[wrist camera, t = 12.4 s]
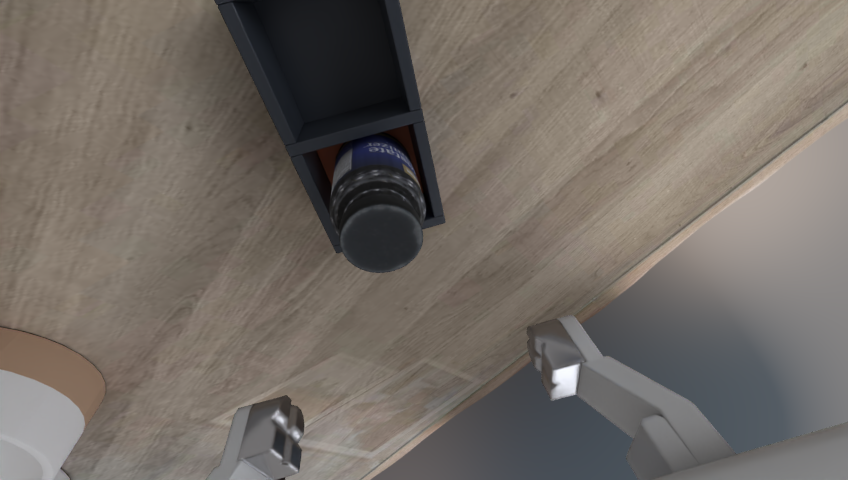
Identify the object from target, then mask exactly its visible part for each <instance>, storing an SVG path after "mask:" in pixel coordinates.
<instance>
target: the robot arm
mask: <svg viewBox="0 0 848 480" xmlns="http://www.w3.org/2000/svg"><path fill="white" fill-rule="evenodd" d="M527 335H528V337H529V340H528V341H527V348H528V352H529V356H530V358H531V361H532V363H533V365H534V367H535V369H536V370H538V371H539V372H541V373H542V383H543V385H544V387H545V389H546V391H547V393H548V395H549V397H550V399H551V401H552V400H556V399H559V398H564V397H568V396H572V395H575V394H577V396H578V397H580V398H581V399H582V400H584V401H585V402H586V403H588V404H589V405H590V406H591V407H593V408H594V409H595V410H597V411H598V412H599V413H600V414H602V415H603V416H605V417H606V418H607V419H608V420H609V421H611V422H612V423H614V424H615V425H616V426H617V427H619V428H620V429H621V430H623V431H624V432H625V433H626V434H628V435H629V436H631V437H632V438H633V441H632V444H631V446H630V448H629V451H628V453H627V457H626V460H627V461H628V463H629V465H630V466H631V468H632V470H633V471H634V473H635V475H636V477H637V478H638V480H848V422H846V423H843V424H839V425H835V426H832V427H829V428H825V429H822V430H818V431H815V432H811V433H808V434H805V435H801V436H798V437H794V438H791V439H787V440H784V441H780V442H777V443H773V444H770V445H767V446H763V447H760V448H756V449H753V450H750V451H746V452H743V453H739V454H736V453H735V452H734V451H733V449H732V448H731V447H730V446H729V445H728V443H727V442H726V441H725V440H724V439H723V438H722V436H721V435H720V434H719V433H718V432H717V431H716V429H715V428H714V427H713V426H712V425H711V423H710V422H709V421H708V420H707V419H706V417H705V416H704V415H703V414H702V413H701V412H700V410H699V409H698V408H697V407H696V406H695V405H694V403H692V402H691V401H689V400H687V399H685V398H683V397H682V396H680V395H678V394H676V393H674V392H673V391H671V390H669V389H667V388H665V387H663V386H662V385H660V384H658V383H656V382H655V381H653V380H651V379H649V378H647V377H645V376H643V375H642V374H640V373H638V372H636V371H635V370H633V369H631V368H629V367H628V366H626V365H624V364H622V363H620V362H618V361H617V360H615V359H613V358H611V357H609V356H605V357H603V355H602V354H601V353H600V351H599V350H598V349H597V347H596V346H595V344H594V343H593V341H592V340H591V339H590V337H589V336H588V334H587V333H586V332H585V330H584V329H583V328H582V326H581V325H580V323H579V322H578V320H577V319H576V318H575V317H574V316H573V315H567V316H564V317H560V318H557V319H552V320H549V321H545V322H542V323H539V324H536V325H532V326H529V327H527ZM303 434H304V419H303V414H302V412H301V410H300V409H299V408H298V406H294V405H291V399H290V398H289V397H288V396H287V395H285V396H282V397H278V398H274V399H271V400H267V401H264V402H260V403H256V404H252V405H248V406H245V407H241V408H238V410H237V411H236V413H235V414H234V417H233V421H232V424H231V428H230V431H229V435H228V438H227V442H226V445H225V448H224V452H223V455H222V459H221V462H220V466H218V467H215V468H214V469H213V470H212V472H211V473H210V474H209V476H208V477H207V478H206V480H278V479H281V478H284V477H287V476H290V475H293V474H297V473H299V468H300V460H301V451H302V449H301V448H300V446H299V445H298V443H299V441H300V439H301V438H302V436H303Z"/></svg>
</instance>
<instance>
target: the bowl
mask: <svg viewBox="0 0 848 480" xmlns="http://www.w3.org/2000/svg"><path fill="white" fill-rule="evenodd" d="M105 392H106V389H105V381H104V379H103V377H102V375H101V373H100V372H99V371H98V370H97V369H96V368H95V367H94V365H93V364H92V363H90V362H89V361H88V360H86V359H85V358H84V357H82V356H81V355H80V354H78V353H76V352H74V351H72V350H70V349H69V348H67V347H65V346H63V345H60V344H58V343H55V342H53V341H50V340H48V339H46V338H43V337H39V336H36V335H32V334H29V333H26V332H22V331H17V330H12V329H7V328H2V327H0V480H53V479H54V477H55V476H56V474H57V473H58V471H59V469H60V468H61V466H62V465H63V463H64V462H65V460H66V458H67V457H68V455H69V454H70V452H71V450H72V449H73V447H74V446H75V444H76V443H77V441H78V439H79V438H80V436H81V435H82V433H83V431H84V429H85V428H86V426H87V424H88V423H89V421H90V420H91V418H92V417H93V415H94V413H95V412H96V410H97V409H98V407H99V406H100V404H101V402H102V401H103V398H104V395H105Z"/></svg>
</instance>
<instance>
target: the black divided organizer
mask: <svg viewBox="0 0 848 480" xmlns="http://www.w3.org/2000/svg"><path fill="white" fill-rule="evenodd" d="M214 1H215V3H216V4H217V5H218V8H219V10H220V13H221V15H222V17H223V19H224V21H225V23H226V25H227V27H228V29H229V31H230V33H231V35H232V37H233V40H234V42H235V44H236V46H237V48H238V50H239V52H240V54H241V56H242V58H243V60H244V62H245V64H246V67H247V69H248V71H249V73H250V75H251V77H252V79H253V81H254V83H255V85H256V87H257V89H258V91H259V94H260V96H261V98H262V100H263V102H264V104H265V106H266V108H267V110H268V112H269V114H270V116H271V118H272V120H273V123H274V125H275V127H276V129H277V131H278V133H279V135H280V137H281V139H282V141H283V143H284V145H286V146H285V148H286V150H287V152H288V154H289V156H290V157H291V160H292V162H293V164H294V166H295V169H296V171H297V173H298V175H299V177H300V179H301V181H302V183H303V185H304V187H305V189H306V191H307V193H308V195H309V198H310V200H311V202H312V204H313V206H314V208H315V210H316V212H317V214H318V216H319V218H320V220H321V222H322V225H323V227H324V229H325V231H326V233H327V235H328V237H329V239H330V241H331V243H332V245H333V247H334V249H335V251H336V253H340V252H342V250H341V247H340V242H339V236H338V234H337V233H336V231H335V230H334V227H333V226H332V223H331V220H330V213H329V207H330V199H331V191H332V183H333V175H334V167H335V159H336V156H337V153H338V151H339V149H340V148H341V146H342V145H343V143H344V142H348V141H352V140H355V139H359V138H363V137H366V136H370V135H373V134H377V133H381V132H384V133H387V134H389V135H391V136H393V137H395V138H396V139H397V140H398V141H399V142H400V143H401V144H402V145H403V146H404V147H405V149H406V150H407V152H408V154H409V156H410V160H411V163H412V166H413V168H414V171H415V174H416V177H417V179H418V182H419V185H420V188H421V190H422V193H423V196H424V200H425V204H426V216H425V219H424V223H423V226H422V229H425V228H429V227H432V226H436V225H439V224H443V223H445V217H444V213H443V208H442V203H441V198H440V193H439V189H438V184H437V179H436V174H435V170H434V165H433V160H432V155H431V150H430V146H429V141H428V136H427V131H426V127H425V122H424V117H423V112H422V109H421V103H420V98H419V93H418V89H417V84H416V79H415V74H414V69H413V65H412V60H411V55H410V50H409V46H408V41H407V36H406V31H405V27H404V22H403V17H402V12H401V7H400V3H399V0H214Z"/></svg>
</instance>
